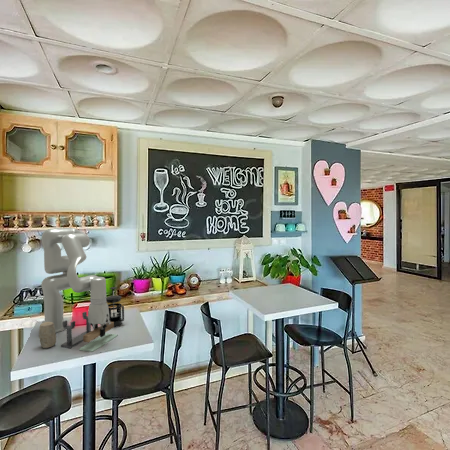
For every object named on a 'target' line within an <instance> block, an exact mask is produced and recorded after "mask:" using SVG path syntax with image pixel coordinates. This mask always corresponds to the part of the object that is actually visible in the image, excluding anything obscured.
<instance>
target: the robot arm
mask: <svg viewBox="0 0 450 450" xmlns="http://www.w3.org/2000/svg"><path fill="white" fill-rule="evenodd" d="M41 244H42V247H43V262H44V264H43V265H44V271H45V273H46V274H49V275H50V276H47V277H45V278H44V279H43V280H42V281H41V289H42V294H43V311H44V320H43V321H42V322H41V323H40V325H41V324H43V323H45V322H53V323H54V327H55V333H60V332H62V331H65V330H66V329H63V321H64V299H63V296H62V295H61V294H60V292H61V291H66V290H69V289H71V290H72V291H73V292H75V293H76V294H77V293H83V292H88V291H90V292H89V293H90V298H89V299H88V300H89V301H90V303H89V305H88V310H87V311H88V312H87V316H88V323H89V324H91V328H92V330H94V329H96V328H98V327H99V325H100V326H101V330H100V336H99V337H103V336H105V333H106V332H105V328H106V327H107V326H108V325H109V324H111V322H110V320H109V308H110V307H108V305H109V303H107V301H106V297H107V282H106V281H107V280H106V277H103V276H98V275H95V274H91V275H87V276H80V277H79V276H78V273H77V268H78V266H79V265H80V264H81V263H84V261H86V260H87V254H86V252H85V250H84V248H87V247H88V246H89V245H90V237H89V235H88V234H86V233H85V232H83V231H81V230H79V229H77V228H75V227H55V228H48V229H46V230H44V231H43V233H42V235H41ZM59 244H62V247H63V249H64V251H65V254H66V255H62V249H61V247H60V246H59ZM60 273H61V274H60ZM52 274H53V275H52ZM54 274H55V275H54ZM106 322H107V323H106Z"/></svg>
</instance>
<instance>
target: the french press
mask: <svg viewBox="0 0 450 450" xmlns="http://www.w3.org/2000/svg"><path fill="white" fill-rule="evenodd" d="M117 288H118V287H116V286H112V287H109V289H110V290H112V295H110V296H106V303H107V304H108V308H109V320H110V322H114V328H119V327H121V326H122V325H123V322H124V321H125V307H124V305H122V303H119V302H121V300H122V295H115V293H114V292H115V290H116V289H117ZM115 310H116V312H115ZM112 311H113V312H112ZM106 323H107V322H106Z"/></svg>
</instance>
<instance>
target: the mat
mask: <svg viewBox="0 0 450 450" xmlns="http://www.w3.org/2000/svg"><path fill="white" fill-rule="evenodd" d="M118 336H119V335H118V334H116V333H108V332H105V336H103V337H100V336H98V337H97V338H95V339H93V340H92V341H90V342H87V343H86V344H85V345H83V346H81V347H80V348H78V350H79V351H84V352H91V353H94V352H95V351H96V350H98V349H100V348H102V347H103V346H104V345H106V344H108V343H109V342H110V341H112V340H113V339H115V338H116V337H118Z"/></svg>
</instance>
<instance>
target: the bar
mask: <svg viewBox="0 0 450 450" xmlns="http://www.w3.org/2000/svg"><path fill="white" fill-rule="evenodd" d="M113 328H114V322H111V324H109V325H108V326H107V327H106V328H105V333H108V331H110V330H112V329H113ZM100 330H101V325H100V326H98V328H96V329H92V330H91V332H89V333H87V334H85V335H84V336H83V342H82V343H90V342H91V341H93V340H95V339H97V338H98V337H100Z"/></svg>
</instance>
